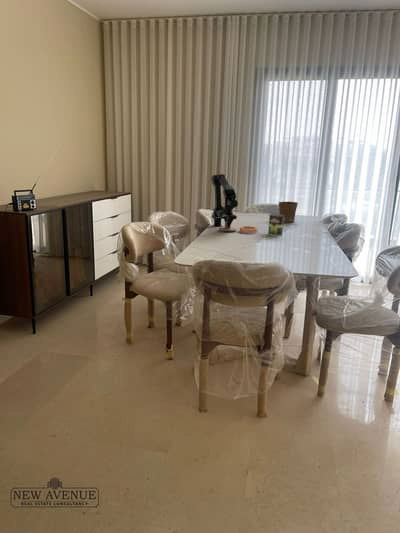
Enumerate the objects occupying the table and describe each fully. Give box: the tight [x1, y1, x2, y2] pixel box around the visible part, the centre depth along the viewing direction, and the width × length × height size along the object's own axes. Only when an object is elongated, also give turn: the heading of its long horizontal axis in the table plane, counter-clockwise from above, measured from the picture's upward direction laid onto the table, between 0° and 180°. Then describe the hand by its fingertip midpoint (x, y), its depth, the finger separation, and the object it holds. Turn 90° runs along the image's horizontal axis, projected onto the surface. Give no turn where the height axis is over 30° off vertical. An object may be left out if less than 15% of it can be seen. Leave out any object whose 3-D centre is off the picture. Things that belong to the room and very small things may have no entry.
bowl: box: [239, 225, 259, 235], centre depth 285 cm, size 12×12×4 cm
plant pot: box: [278, 201, 299, 224], centre depth 328 cm, size 16×16×16 cm
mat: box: [214, 228, 239, 234], centre depth 287 cm, size 14×14×1 cm
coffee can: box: [267, 213, 284, 237], centre depth 278 cm, size 10×10×14 cm
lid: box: [218, 221, 237, 231], centre depth 286 cm, size 13×13×6 cm
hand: (227, 227), depth 286 cm, fingers closed on lid, 3 cm apart
